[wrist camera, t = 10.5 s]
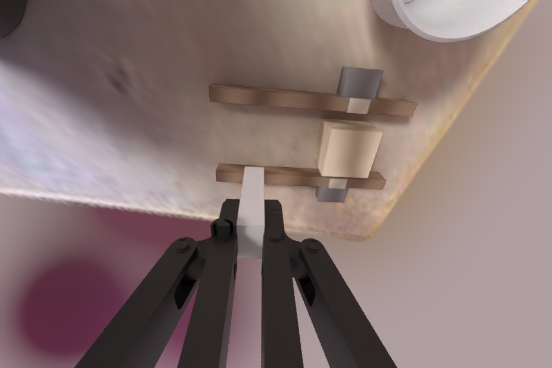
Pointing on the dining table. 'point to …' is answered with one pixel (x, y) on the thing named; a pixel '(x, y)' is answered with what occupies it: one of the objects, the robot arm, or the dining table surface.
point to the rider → (346, 148)
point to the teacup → (446, 16)
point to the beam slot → (350, 98)
